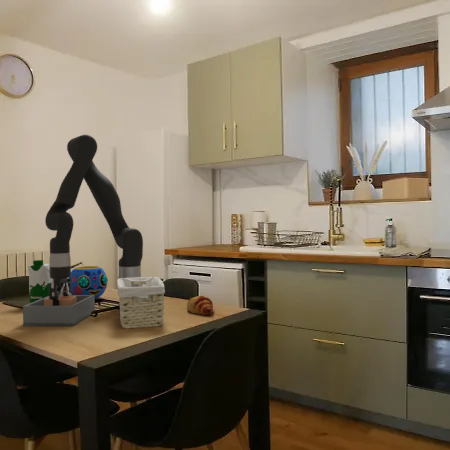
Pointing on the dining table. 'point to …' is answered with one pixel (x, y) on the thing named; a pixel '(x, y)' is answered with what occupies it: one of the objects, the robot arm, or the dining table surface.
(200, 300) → the croissant
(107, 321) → the dining table surface
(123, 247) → the robot arm
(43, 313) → the big crate
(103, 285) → the ceramic pot
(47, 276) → the milk carton
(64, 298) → the small crate
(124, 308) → the storage basket
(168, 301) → the dining table surface
